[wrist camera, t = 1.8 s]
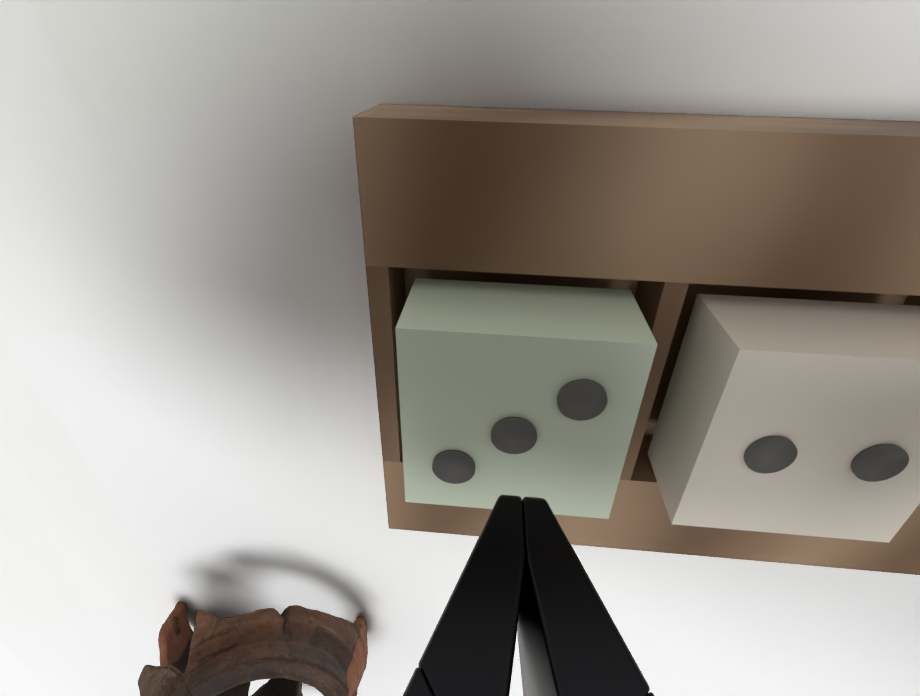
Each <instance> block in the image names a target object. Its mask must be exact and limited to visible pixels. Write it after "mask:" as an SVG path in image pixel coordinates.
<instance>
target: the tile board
mask: <svg viewBox="0 0 920 696" xmlns="http://www.w3.org/2000/svg"><path fill="white" fill-rule="evenodd" d="M353 126H354V137H355V148H356V160H357V171H358V183H359V194H360V205H361V217H362V228H363V239H364V251H365V262H366V273H367V285H368V296H369V307H370V319H371V330H372V342H373V353H374V364H375V376H376V387H377V398H378V410H379V421H380V432H381V444H382V455H383V466H384V478H385V489H386V501H387V512H388V523H389V528H392V529H403V530H414V531H426V532H437V533H448V534H460V535H471V536H480V534H481V532H482V530H483V528H484V526H485V524H486V522H487V520H488V518H489V516H490V513H491V511H492V509H484V508H472V507H460V506H448V505H436V504H424V503H413V502H405V487H404V470H403V453H402V435H401V418H400V401H399V383H398V366H397V348H396V331H395V328H396V325H397V323H398V320H399V318H400V315H401V313H402V310H403V308H404V305H405V303H406V300H407V298H408V295H409V293H410V290H411V288H412V285H413V283H414V281H415V278H425V279H443V280H461V281H479V282H497V283H515V284H533V285H551V286H569V287H587V288H605V289H623V290H631V292H632V294H633V296H634V298H635V300H636V302H637V304H638V306H639V308H640V310H641V312H642V314H643V316H644V318H645V320H646V322H647V324H648V326H649V328H650V330H651V332H652V334H653V336H654V338H655V340H656V342H657V344H658V345H657V349H656V352H655V356H654V359H653V363H652V366H651V370H650V373H649V377H648V380H647V384H646V388H645V391H644V395H643V398H642V402H641V405H640V409H639V412H638V416H637V420H636V423H635V427H634V430H633V434H632V437H631V441H630V444H629V448H628V451H627V455H626V459H625V462H624V466H623V469H622V473H621V476H620V480H619V483H618V487H617V491H616V494H615V498H614V501H613V505H612V508H611V512H610V515H609V519H602V518H591V517H579V516H567V515H555V514H554V515H555V517H556V519H557V521H558V522H559V524H560V526H561V528H562V530H563V531H564V533H565V535H566V537H567V539H568V540H569V542H570V544H574V545H585V546H596V547H608V548H619V549H631V550H642V551H653V552H665V553H676V554H688V555H699V556H710V557H722V558H733V559H744V560H756V561H767V562H779V563H790V564H801V565H813V566H824V567H836V568H847V569H858V570H870V571H881V572H892V573H904V574H915V575H920V507H919V506H917V508H916V509H915V510H914V511H913V513H912V514H911V515H910V516H909V518H908V519H907V520H906V522H905V523H904V524H903V525H902V527H901V528H900V529H899V531H898V532H897V533H896V534H895V536H894V537H893V538H892V539H891V541H890V542H889V543H887V542H875V541H864V540H852V539H840V538H828V537H816V536H804V535H792V534H780V533H769V532H757V531H745V530H733V529H721V528H709V527H697V526H685V525H674V524H671V521H670V518H669V515H668V512H667V510H666V507H665V504H664V501H663V498H662V495H661V492H660V489H659V486H658V483H657V480H656V477H655V474H654V471H653V468H652V465H651V462H650V459H649V456H648V454H647V453H648V450H649V447H650V444H651V441H652V437H653V434H654V431H655V428H656V425H657V421H658V418H659V415H660V412H661V409H662V405H663V402H664V399H665V396H666V393H667V389H668V386H669V383H670V380H671V377H672V373H673V370H674V367H675V364H676V361H677V357H678V354H679V351H680V348H681V345H682V341H683V338H684V335H685V332H686V329H687V325H688V322H689V319H690V316H691V313H692V309H693V306H694V303H695V300H696V297H697V294H713V295H731V296H749V297H767V298H785V299H803V300H822V301H840V302H858V303H876V304H894V305H912V306H920V122H913V121H883V120H853V119H822V118H792V117H762V116H732V115H702V114H672V113H642V112H612V111H582V110H552V109H521V108H491V107H461V106H431V105H401V104H380V105H378V106H375V107H373V108H371V109H369V110H367V111H364V112H362V113H360V114H358V115H356V116H353Z"/></svg>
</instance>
